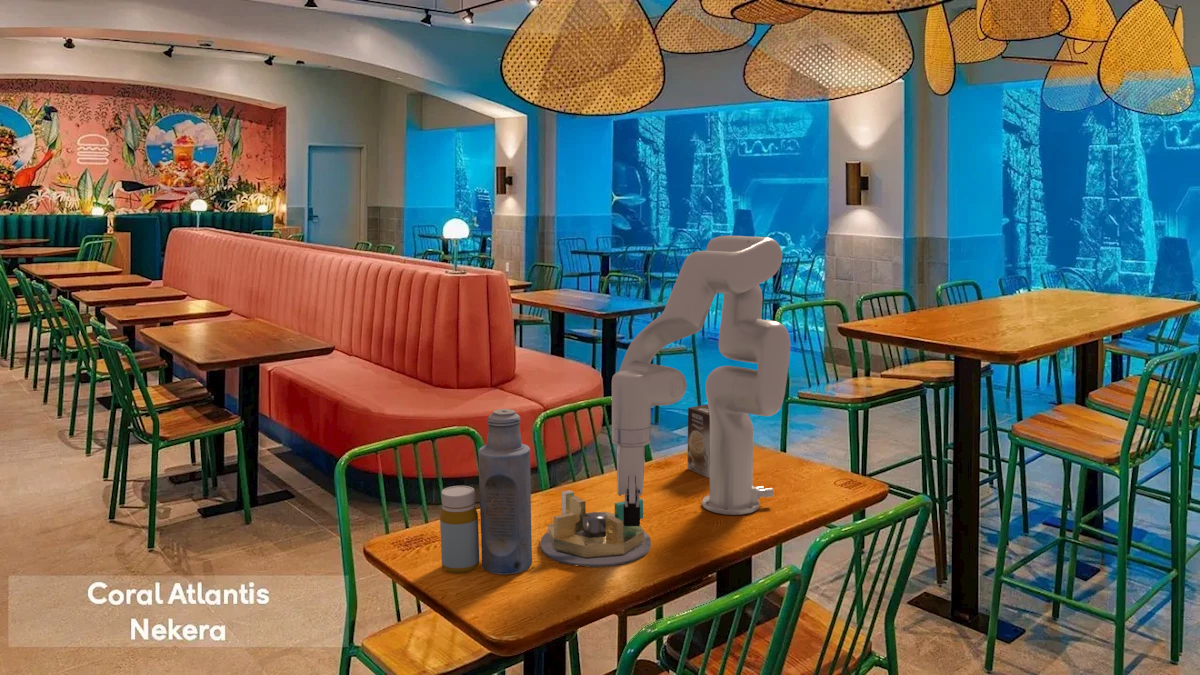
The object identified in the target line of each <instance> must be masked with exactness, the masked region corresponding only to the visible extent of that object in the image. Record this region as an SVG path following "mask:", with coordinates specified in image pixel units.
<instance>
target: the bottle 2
mask: <svg viewBox="0 0 1200 675" xmlns="http://www.w3.org/2000/svg"><path fill="white" fill-rule="evenodd" d="M487 426H488V432H487V437H486V439H487V440H486V444H485V445H483V446H481V447H480V448H479V449H478V477H479V478H478V480H479V481H478V482H479V484H478V485H479V510H480V511H479V514H480V536H481V537H480V539H481V540H480V543H481V544H480V545H481V546H480V547H481V567H482V569H484V571H486V572H488V573H491V574H496V575H513V574H518V573H521V572H524V571H527V570H528V569H529V568H530V567H531V565H533V564H532V563H533V549H532V548H533V547H532V546H533V545H532V542H533V541H532V539H533V538H532V501H531V500H532V498H531V497H532V493H531V492H532V491H531V490H532V489H531V488H532V486H531V483H532V482H531V480H532V479H531V448H530V446H529V445H527V444H524V443H522V435H521V416H520V415H519V414H518V413H516V411H515V410H513V409H510V408H500V409H496V410H493V411H492V413H491V414H490V415H489V416H488V417H487Z"/></svg>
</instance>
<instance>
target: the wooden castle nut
mask: <svg viewBox="0 0 1200 675" xmlns="http://www.w3.org/2000/svg"><path fill="white" fill-rule="evenodd" d="M623 504H625V500H624V501H623V500H622V501H618V502H614V513H613V512H608V511H599V512H600V513H604V514H607V515H608V516H607V517H606V537H595V538H588V537H584V536H580V535H576V533H577V532H579V531H582V530H583V515H585V514H587V513H588V512H586V510H587V508H586V500H584V499H582V498H580V497H579V496H577V495H574V496H573V497H570V513H567V514H562V513H561V514H559V515H554V516H553V522H551V523H550V524H547V532H548V536H549V539H550V541H551V544H552V546H553V548H554V549H555V550H559V551H563V552H567V553H571V554H575V555H579V556H583V557H595V556H606V555H617V554H625V553H626V552H628V551H630V550H631V549H633V548H634V547H636V546H638V545H639V544H641V543H643V542H644V532H645V530H644V529H643V528H642V525H640V526H624V505H623ZM639 504H640V520H643V519H644V499H643V498H641V497H639Z"/></svg>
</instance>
